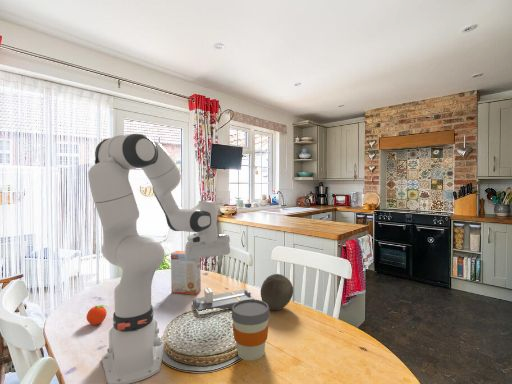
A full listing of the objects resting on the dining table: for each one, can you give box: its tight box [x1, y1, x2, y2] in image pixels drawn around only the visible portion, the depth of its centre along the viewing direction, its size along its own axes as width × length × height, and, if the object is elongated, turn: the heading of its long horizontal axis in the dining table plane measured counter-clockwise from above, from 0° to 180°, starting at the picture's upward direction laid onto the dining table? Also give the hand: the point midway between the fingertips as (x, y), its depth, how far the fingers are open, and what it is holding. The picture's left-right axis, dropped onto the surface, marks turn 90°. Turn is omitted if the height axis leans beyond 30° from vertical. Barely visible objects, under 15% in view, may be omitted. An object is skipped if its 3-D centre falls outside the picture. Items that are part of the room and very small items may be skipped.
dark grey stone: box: [260, 273, 294, 311], centre depth 118 cm, size 14×14×15 cm
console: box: [192, 288, 255, 311], centre depth 124 cm, size 12×26×4 cm, turn 115°
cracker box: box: [170, 250, 202, 296], centre depth 138 cm, size 14×6×21 cm, turn 78°
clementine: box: [86, 304, 108, 326], centre depth 107 cm, size 8×7×7 cm
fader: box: [203, 287, 214, 303], centre depth 121 cm, size 5×3×5 cm, turn 25°
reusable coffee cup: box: [231, 298, 270, 361], centre depth 88 cm, size 12×13×15 cm
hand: (208, 266), depth 120 cm, fingers open, 8 cm apart
